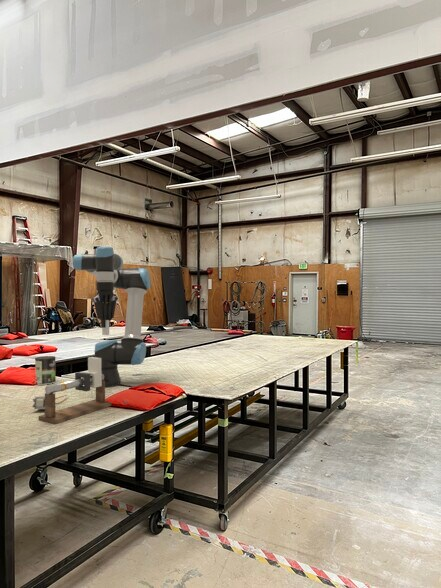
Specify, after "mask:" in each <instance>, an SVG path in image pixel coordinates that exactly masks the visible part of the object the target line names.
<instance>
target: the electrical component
mask: <svg viewBox="0 0 441 588" xmlns="http://www.w3.org/2000/svg"><path fill="white" fill-rule="evenodd" d="M66 396H68V395H67V394H65V395H61V396H58V397H55V400H58V399H60V398H64V397H66ZM69 398H70V396H68V397H67V398H66V399H64V400H62V401H60V402H55V405H57V404H58V405H59V404H61V403H63V402H65V401H67V400H68V399H69ZM32 401H33V403H34V404H32V408H33V409H34V410H45V395H39V396H35V397H34V398H32Z"/></svg>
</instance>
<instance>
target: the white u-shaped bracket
mask: <svg viewBox="0 0 441 588" xmlns="http://www.w3.org/2000/svg"><path fill="white" fill-rule="evenodd" d="M83 373H88V374H90V376H93V383H90V388H92V389H96V387H100V386H102V373H101V358H96V357H95V356H91V357H87V371H85V372H83Z"/></svg>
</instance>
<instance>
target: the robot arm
mask: <svg viewBox="0 0 441 588" xmlns="http://www.w3.org/2000/svg"><path fill="white" fill-rule="evenodd" d="M123 265H124V260H123V257H122V256H120V255H119V254H117V253H115V252H114V248H113V247H112V246H98V247H96V250H95V253H79V254H75V255H74V256H73V257H72V267H73V268H74V270H76V271H85V272H87V273H89V274H91V275H93V276H95V277H96V278H95V279H96V281H97V282H96V284H95V285H96V286H95V287H96V291H97V293H96V296H95V297H92V299H91V300H92V302H93V304H94V308H95V313H96V318H97V320H99V321H100V322H101V323H100V325H101V326H100V327H101V330H102V331H101V332H102V336H109V335H110V327H111V320H113V319H114V317H115V312H116V306H117V302H118V296H115V294H114V290H115V289H121V290H125V293H127V301H126V302H127V303H126V315H125V326H124V336H123V337H121V339H120V340H121V341H120V342H118V340H117V339H112V340H111V339H109V340H104V341H99V342H97V343H95V345H94V357H96V358H101V373H102V374H103V375H104V380H103V381H105V388H111V387H115V386H119V385H121V383H122V379H121V377H120V376H121V375H120V373H119V371H118V370H119V369H118V366H119V365H120V366H121V365H122V366H123V365H124V366H128V365H129V366H137V365H138V366H139V365H141V364H143V363H144V360H145V357H146V355H147V344H146V342H144V339H143V338H142V337H141V336H142V324H143V323H142V322H143V320H142V319H143V310H144V308H143V307H144V299H145V298H144V297H145V296H144V295H146V294H147V293H148V292H147V291H148V290H149V289H151V281H152V280H151V277H150V273H149V270H148V269H147V268H142V267H135V268H134V267H133V268H122V267H123Z"/></svg>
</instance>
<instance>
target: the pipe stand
mask: <svg viewBox="0 0 441 588" xmlns="http://www.w3.org/2000/svg"><path fill="white" fill-rule="evenodd" d="M44 396H45V409H44V414H41V415H38V421H41V422H45V423H49V424H54V425H58V424H60V423H63V422H66V421H68V420H71V419H75V418H79V417H81V416H84V415H86V414H90V413H93V412H96V411H99V410H102V409H106V408H108V407H111V406H112V402H111V401H107V400H106V387H105V381H103V380H102V386H100V387H96V388H95V398H94V399H91V400H87V401H85V402H81V403H77V404H74V405H71V406H68V407H64V408H61V409H57V410H56V404H55V403H56V399H55V398H56V392H55V393H51V394H47V393H46V392H45V393H44Z"/></svg>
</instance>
